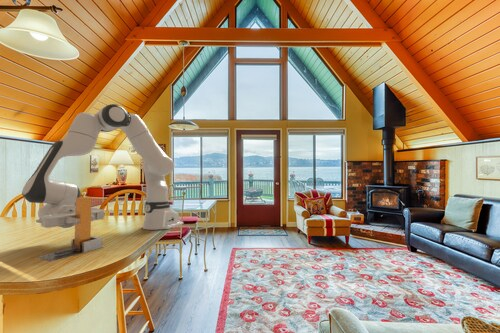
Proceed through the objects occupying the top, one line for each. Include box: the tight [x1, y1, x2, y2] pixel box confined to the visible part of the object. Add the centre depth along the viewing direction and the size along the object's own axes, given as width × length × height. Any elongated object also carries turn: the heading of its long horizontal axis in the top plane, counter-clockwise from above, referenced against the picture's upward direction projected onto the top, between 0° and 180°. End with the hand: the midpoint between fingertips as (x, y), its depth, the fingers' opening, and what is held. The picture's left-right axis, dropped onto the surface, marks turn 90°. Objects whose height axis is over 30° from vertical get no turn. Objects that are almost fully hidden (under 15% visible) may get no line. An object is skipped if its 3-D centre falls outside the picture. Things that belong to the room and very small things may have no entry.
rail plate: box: [37, 246, 104, 262], centre depth 86 cm, size 17×9×1 cm, turn 151°
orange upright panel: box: [53, 196, 92, 255], centre depth 87 cm, size 11×5×19 cm, turn 152°
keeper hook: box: [70, 235, 103, 253], centre depth 91 cm, size 6×9×4 cm
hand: (85, 219), depth 89 cm, fingers closed on orange upright panel, 4 cm apart
